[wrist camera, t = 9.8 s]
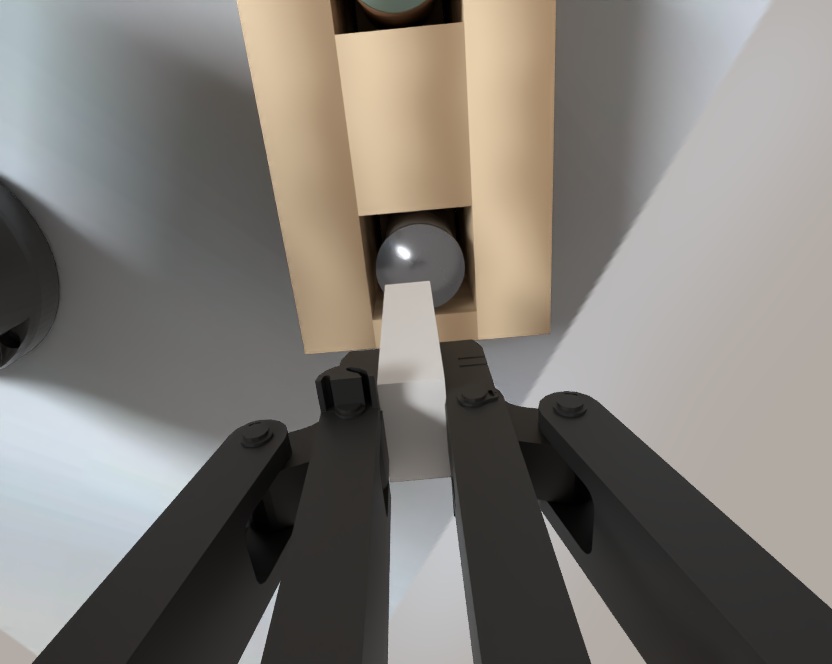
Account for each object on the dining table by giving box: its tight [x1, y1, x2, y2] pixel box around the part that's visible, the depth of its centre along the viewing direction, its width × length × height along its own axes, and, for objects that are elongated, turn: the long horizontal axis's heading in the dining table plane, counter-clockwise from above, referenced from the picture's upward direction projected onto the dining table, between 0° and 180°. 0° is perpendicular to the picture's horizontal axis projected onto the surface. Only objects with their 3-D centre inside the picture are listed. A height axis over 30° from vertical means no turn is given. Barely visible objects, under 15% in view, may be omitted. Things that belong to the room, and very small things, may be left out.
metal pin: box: [376, 208, 465, 308], centre depth 28 cm, size 4×4×9 cm
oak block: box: [237, 0, 556, 354], centre depth 26 cm, size 12×20×10 cm, turn 5°
